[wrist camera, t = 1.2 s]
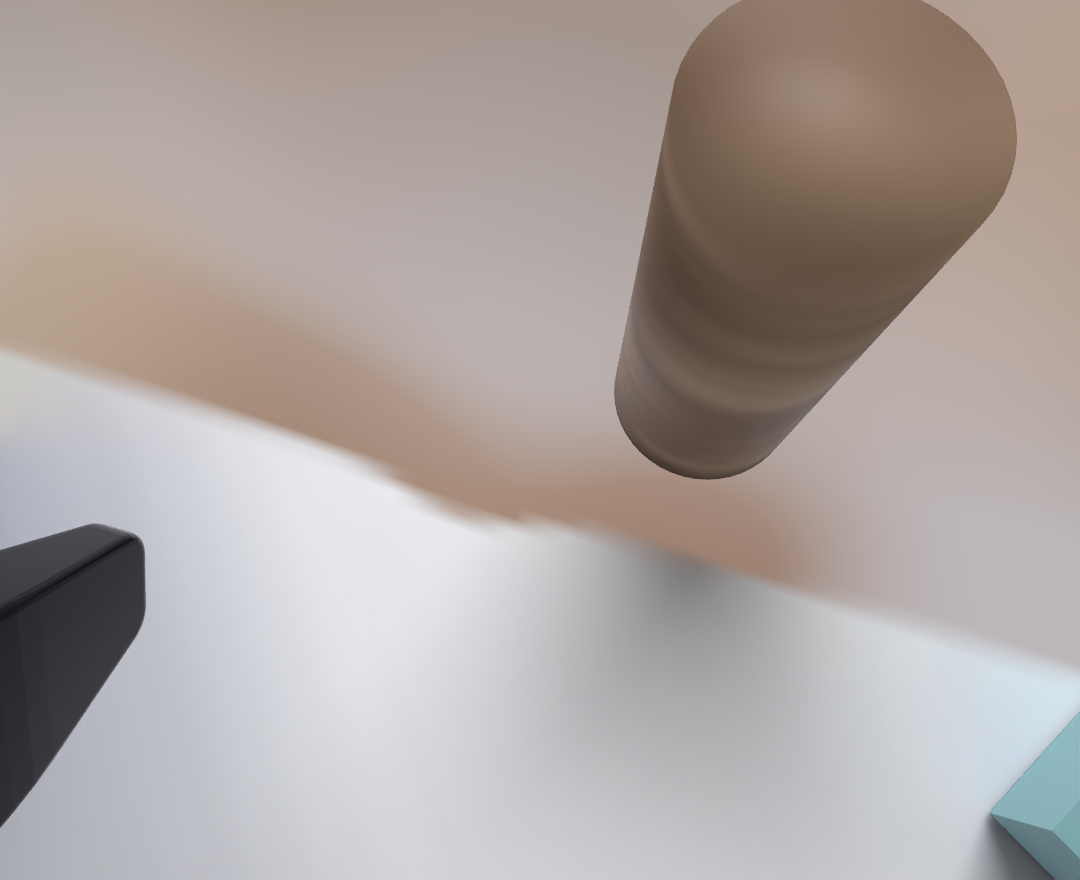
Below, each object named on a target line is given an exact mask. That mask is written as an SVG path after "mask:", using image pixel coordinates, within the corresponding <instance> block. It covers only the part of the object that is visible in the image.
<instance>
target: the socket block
mask: <svg viewBox="0 0 1080 880" xmlns="http://www.w3.org/2000/svg"><path fill="white" fill-rule="evenodd" d="M989 813H990V814H991V815H992V816H993V817H994V818H995V819H996V820H997V821H998V822H999V823H1000V824H1001V825H1002V826H1003V827H1004V828H1005V829H1006V830H1007V831H1008V832H1009V833H1010V834H1011V835H1012V836H1013V837H1014V838H1015V839H1016V841H1017V842H1018V843H1019V844H1020V845H1021V846H1022V847H1023V848H1024V849H1025V850H1026V851H1027V852H1028V853H1029V854H1030V855H1031V856H1032V857H1033V858H1034V859H1035V860H1036V861H1037V862H1038V863H1039V864H1040V865H1041V866H1042V867H1043V868H1044V869H1045V870H1046V871H1047V872H1048V873H1049V874H1050V875H1051V876H1052V877H1053V878H1054V879H1055V880H1080V712H1079V713H1078V714H1077V715H1076V716H1075V718H1074V719H1073V720H1072V721H1071V722H1070V723H1069V724H1068V725H1067V727H1066V728H1065V729H1064V730H1063V731H1062V732H1061V733H1060V734H1059V735H1058V737H1057V738H1056V739H1055V740H1054V741H1053V742H1052V743H1051V744H1050V746H1049V747H1048V748H1047V749H1046V750H1045V751H1044V752H1043V753H1042V754H1041V756H1040V757H1039V758H1038V759H1037V760H1036V761H1035V762H1034V763H1033V764H1032V766H1031V767H1030V768H1029V769H1028V770H1027V771H1026V772H1025V773H1024V775H1023V776H1022V777H1021V778H1020V779H1019V780H1018V781H1017V782H1016V783H1015V785H1014V786H1013V787H1012V788H1011V789H1010V790H1009V791H1008V792H1007V793H1006V795H1005V796H1004V797H1003V798H1002V799H1001V800H1000V801H999V802H998V804H997V805H996V806H995V807H994V808H993V809H992V810H991V811H990V812H989Z"/></svg>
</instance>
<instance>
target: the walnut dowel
mask: <svg viewBox="0 0 1080 880" xmlns="http://www.w3.org/2000/svg"><path fill="white" fill-rule="evenodd" d="M1016 140H1017V135H1016V123H1015V116H1014V112H1013V107H1012V103H1011V99H1010V97H1009V94H1008V92H1007V89H1006V86H1005V84H1004V82H1003V79H1002V78H1001V76H1000V74H999V72H998V71H997V69H996V67H995V65H994V64H993V62H992V61H991V60H990V58H989V57H988V55H987V54H986V53H985V51H984V50H983V49H982V47H981V46H980V45H979V44H978V43H977V42H976V41H975V40H974V39H973V38H972V37H971V36H970V35H969V34H968V33H967V32H966V31H965V30H964V29H963V28H962V27H960V26H959V25H958V24H956V22H954V21H953V20H952V19H951V18H949V17H948V16H946V15H945V14H943V13H942V12H940V11H939V10H937V9H935V8H934V7H932V6H930V5H929V4H926V3H924V2H923V1H921V0H741V1H740V2H738V3H736V4H734V5H732V6H731V7H729V8H728V9H727V10H725V11H724V12H723V13H721V14H720V15H719V16H717V17H716V18H715V19H714V20H713V21H712V22H711V23H710V24H709V25H708V26H707V27H706V28H705V29H704V30H703V31H702V32H701V33H700V35H699V36H698V37H697V38H696V40H695V41H694V42H693V44H692V45H691V46H690V48H689V50H688V52H687V53H686V56H685V57H684V59H683V61H682V62H681V65H680V68H679V70H678V73H677V76H676V79H675V82H674V87H673V92H672V97H671V102H670V107H669V112H668V117H667V122H666V127H665V132H664V137H663V142H662V147H661V152H660V157H659V162H658V167H657V173H656V177H655V182H654V188H653V192H652V198H651V203H650V208H649V213H648V218H647V223H646V228H645V233H644V238H643V243H642V248H641V253H640V258H639V263H638V268H637V274H636V279H635V283H634V289H633V293H632V298H631V303H630V308H629V313H628V318H627V324H626V329H625V334H624V338H623V343H622V349H621V354H620V359H619V364H618V369H617V374H616V379H615V389H614V395H615V405H616V410H617V414H618V417H619V419H620V422H621V425H622V427H623V429H624V431H625V433H626V434H627V436H628V437H629V439H630V440H631V442H632V443H633V445H635V447H636V448H637V449H638V450H639V451H640V452H641V453H642V454H643V455H644V456H645V457H647V458H648V459H649V460H650V461H652V462H653V463H655V464H656V465H658V466H659V467H661V468H663V469H665V470H668V471H670V472H672V473H675V474H678V475H681V476H684V477H690V478H694V479H720V478H726V477H731V476H734V475H737V474H740V473H742V472H745V471H747V470H748V469H751V468H753V467H754V466H755V465H757V464H758V463H760V462H762V461H763V460H764V459H765V458H766V457H767V456H768V455H769V454H770V453H771V452H772V451H773V450H774V449H775V448H776V447H777V446H778V445H779V444H780V443H781V442H782V440H783V439H784V438H785V437H786V436H787V435H788V434H789V433H790V432H791V431H792V430H793V428H794V427H795V426H796V425H797V424H798V423H799V422H800V421H801V420H802V419H803V418H804V416H806V414H807V413H808V412H809V411H810V410H811V409H812V408H813V407H814V406H815V405H816V404H817V403H818V401H819V400H820V399H821V398H822V397H823V396H824V395H825V394H826V393H827V392H828V390H830V388H831V387H832V386H833V385H834V384H835V383H836V382H837V381H838V380H839V379H840V378H841V377H842V375H843V374H844V373H845V372H846V371H847V370H848V369H849V368H850V366H852V365H853V364H854V362H855V361H856V360H857V359H858V358H859V357H860V356H861V355H862V354H863V353H864V351H866V349H867V348H868V347H869V346H870V345H871V344H872V343H873V342H874V341H875V339H877V338H878V336H879V335H880V334H881V333H882V332H883V331H884V330H885V329H886V328H887V327H888V326H889V325H890V323H891V322H892V321H893V320H894V319H895V318H896V317H897V316H898V315H899V314H900V313H901V312H902V310H903V309H904V308H905V307H906V306H907V305H908V304H909V303H910V302H911V301H912V300H913V298H914V297H915V296H916V295H917V294H918V293H919V292H920V291H921V290H922V289H923V288H924V287H925V286H926V284H927V283H928V282H929V281H930V280H931V279H932V278H933V277H934V276H935V275H936V274H937V273H938V271H939V270H940V269H941V268H942V267H943V266H944V265H945V264H946V263H947V262H948V261H949V260H950V258H951V257H952V256H953V255H954V254H955V253H956V252H957V251H958V250H959V248H961V247H962V245H963V244H964V243H965V242H966V241H967V240H968V239H969V238H970V237H971V236H972V235H973V234H974V232H975V231H976V230H977V229H978V228H979V227H980V226H981V225H982V224H983V222H984V221H985V220H986V219H987V217H988V216H989V215H990V214H991V213H992V212H993V210H994V209H995V207H996V206H997V204H998V202H999V201H1000V199H1001V197H1002V196H1003V194H1004V192H1005V189H1006V187H1007V184H1008V182H1009V180H1010V177H1011V174H1012V169H1013V165H1014V161H1015V155H1016Z"/></svg>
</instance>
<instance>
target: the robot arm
mask: <svg viewBox="0 0 1080 880" xmlns="http://www.w3.org/2000/svg"><path fill="white" fill-rule="evenodd" d="M145 609H146V592H145V550H144V545H143V542H142V540H141V539H140V538H139V537H138V536H137V535H135V534H133V533H130V532H127V531H123V530H120V529H117V528H113V527H110V526H106V525H102V524H89V525H85V526H82V527H78V528H75V529H72V530H68V531H65V532H61V533H58V534H54V535H51V536H47V537H44V538H41V539H37V540H34V541H30V542H27V543H23V544H20V545H16V546H13V547H10V548H6V549H3V550H0V828H1V826H2V825H3V824H4V823H5V822H6V820H7V819H8V818H9V817H10V816H11V814H12V813H13V812H14V811H15V810H16V808H17V807H18V806H19V804H20V803H21V802H22V801H23V799H24V798H25V797H26V796H27V794H28V793H29V792H30V791H31V789H32V788H33V787H34V786H35V784H36V783H37V781H38V780H39V779H40V777H41V776H42V775H43V773H44V772H45V770H46V769H47V768H48V766H49V765H50V763H51V762H52V761H53V759H54V758H55V756H56V755H57V753H58V752H59V750H60V749H61V747H62V746H63V744H64V743H65V741H66V740H67V738H68V737H69V735H70V734H71V732H72V731H73V729H74V728H75V726H76V725H77V724H78V722H79V721H80V719H81V718H82V716H83V715H84V713H85V712H86V710H87V709H88V707H89V706H90V704H91V703H92V701H93V700H94V698H95V697H96V695H97V694H98V692H99V691H100V689H101V688H102V686H103V685H104V683H105V682H106V680H107V679H108V677H109V676H110V675H111V673H112V672H113V670H114V669H115V667H116V666H117V664H118V663H119V661H120V660H121V658H122V657H123V655H124V654H125V652H126V651H127V649H128V648H129V646H130V645H131V643H132V642H133V640H134V639H135V637H136V636H137V634H138V632H139V630H140V628H141V626H142V623H143V620H144V615H145Z"/></svg>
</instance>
